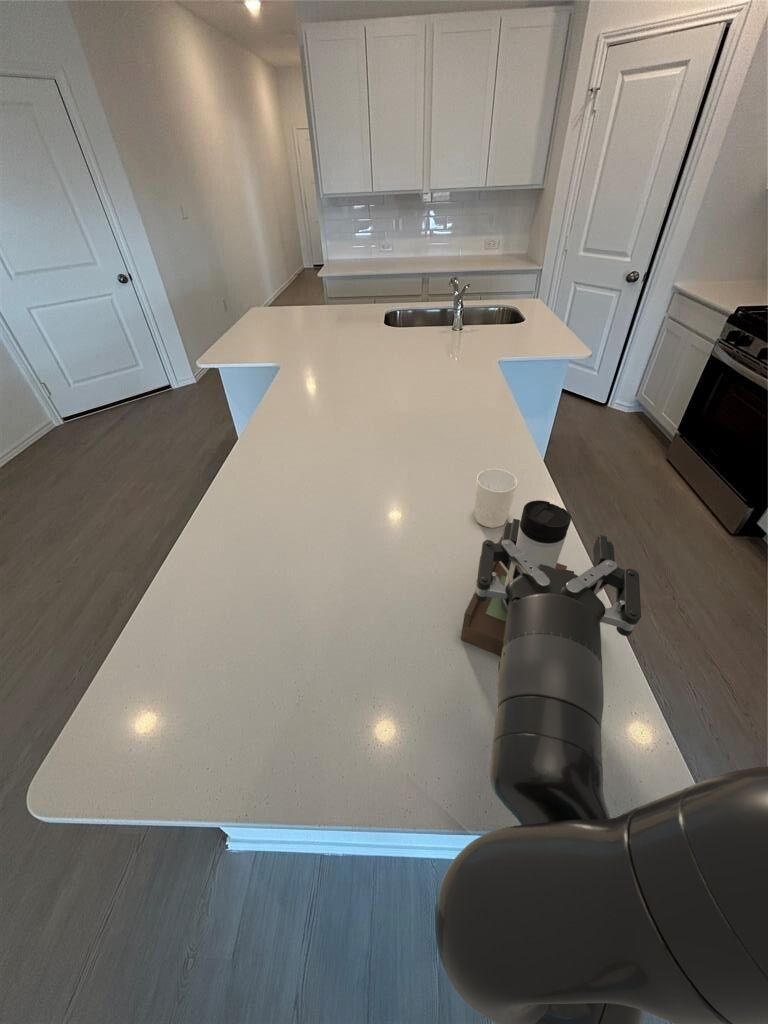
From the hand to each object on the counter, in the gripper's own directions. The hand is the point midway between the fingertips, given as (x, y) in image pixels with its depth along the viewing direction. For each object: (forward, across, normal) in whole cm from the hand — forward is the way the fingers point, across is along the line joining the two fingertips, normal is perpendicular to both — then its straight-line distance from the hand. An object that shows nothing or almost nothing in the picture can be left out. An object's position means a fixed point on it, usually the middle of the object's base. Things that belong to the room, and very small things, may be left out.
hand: (556, 532), depth 46 cm
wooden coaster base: (+13, +1, +30) cm, 33 cm away
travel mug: (+11, 0, +26) cm, 28 cm away
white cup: (+36, +8, +30) cm, 47 cm away
